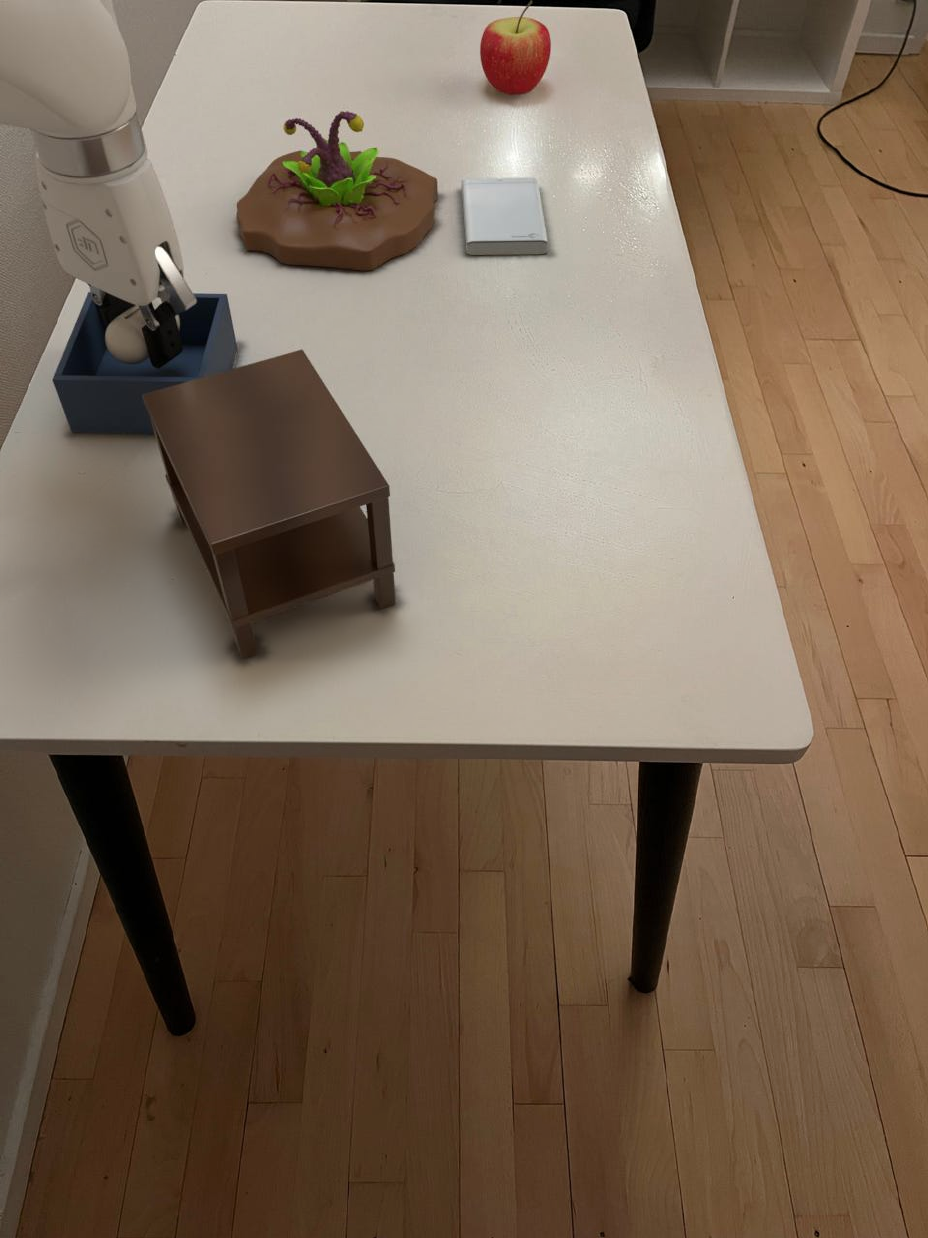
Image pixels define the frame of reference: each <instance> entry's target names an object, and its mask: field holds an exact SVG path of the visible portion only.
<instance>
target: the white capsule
mask: <svg viewBox="0 0 928 1238" xmlns="http://www.w3.org/2000/svg"><path fill="white" fill-rule="evenodd" d="M151 302H152V304H153V307H154V309H156V308H157V307H158V306H159V305H160V304H161V303H162V302H161V299H160V298H158V297H157V298H156V299H155V300H153V301H151ZM175 317H176V321H177V325H178V329H180V318H179V314H178V315H176V316H175ZM145 325H146V323H145V321H144V319H143V316H142V314H141V311H140V309H139V306H138V305H134V306H133V307H131V308H130V309H128V310H127V311H125V312H124V313H122V314H121V315H119V316H118V317H116V318H115V319H114V320H113V321H111V322H110V324H109V325H108V327H107V329H106V332H105V343H106V347H107V349H108V351H109V352H110V354H111V355H112V356H113V357H114V358H115V359H117V360H118V361H120V362H122V363H126V364H138V363H141V362H143V361H145V360H146V359H148V358H149V354H148V349H147V346H146V343H145V339H144V336H143V332H142V328H143V327H144V326H145Z"/></svg>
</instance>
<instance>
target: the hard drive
mask: <svg viewBox="0 0 928 1238" xmlns="http://www.w3.org/2000/svg"><path fill="white" fill-rule="evenodd" d="M461 199H462V200H461V201H462V213H463V224H464V225H463V226H464V234H465V237H464V238H465V248H466V249H465V251H466V254H468V255H472V256H482V255H483V256H492V255H495V256H496V255H498V256H499V255H543V254H547V253H548V250H549V241H548V234H547V227H546V223H545V217H544V210H543V204H542V198H541V192H540V187H539V181H538V178H537V177H532V176H531V177H481V178H480V177H479V178H478V177H477V178H475V177H474V178H464V179H462V180H461Z"/></svg>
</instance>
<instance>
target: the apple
mask: <svg viewBox="0 0 928 1238" xmlns="http://www.w3.org/2000/svg"><path fill="white" fill-rule="evenodd" d="M533 3H534V2H533V0H530V1H529V2H528V3H527V5H526V6H525V8H524V9H523V10H522V12H521V14H520V16H515V17H514V16H513V17H504V18H499V19H495V20H493V21H491V22H490V23H488V25H487V26H486V27H485V29H484V30H483V32H482V35H481V40H480V46H479V56H480V57H479V58H480V63H481V67H482V70H483V73H484V76H485V77H486V79H487V81H488V83H489V84H490V86H492V87H493V88H494V89H495V90H497V91H498V92H500V93H502V94H505V95H509V96H520V95H524V94H527V93H530V92H531V91H533V90H534V89H535V88H537V86H538V84H540V82H541V80H542V79H543V77H544V75H545V73H546V71H547V68H548V66H549V61H550V58H551V51H552V41H551V35H550V32H549V28H548V27H547V25H545V24H544V23H542V22H540V21H538V20H536V19H534V18H531V17H526V16H524V14H525V13H526V12H527V10H528V9H529V7H530V6H531V5H532V4H533Z"/></svg>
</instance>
